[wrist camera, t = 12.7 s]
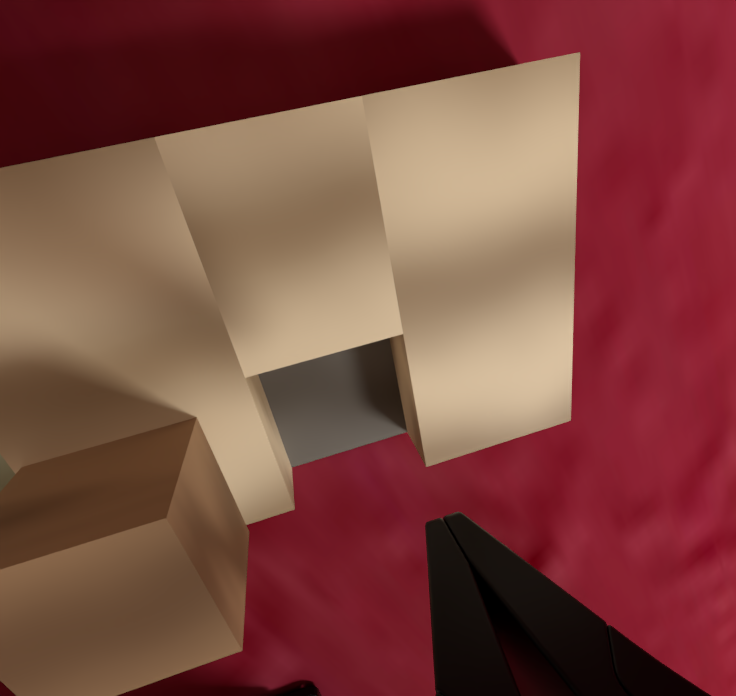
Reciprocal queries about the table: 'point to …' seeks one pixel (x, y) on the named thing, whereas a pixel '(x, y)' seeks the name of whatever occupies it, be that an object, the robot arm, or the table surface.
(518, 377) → the trap deck
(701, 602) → the table surface
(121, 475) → the walnut block
